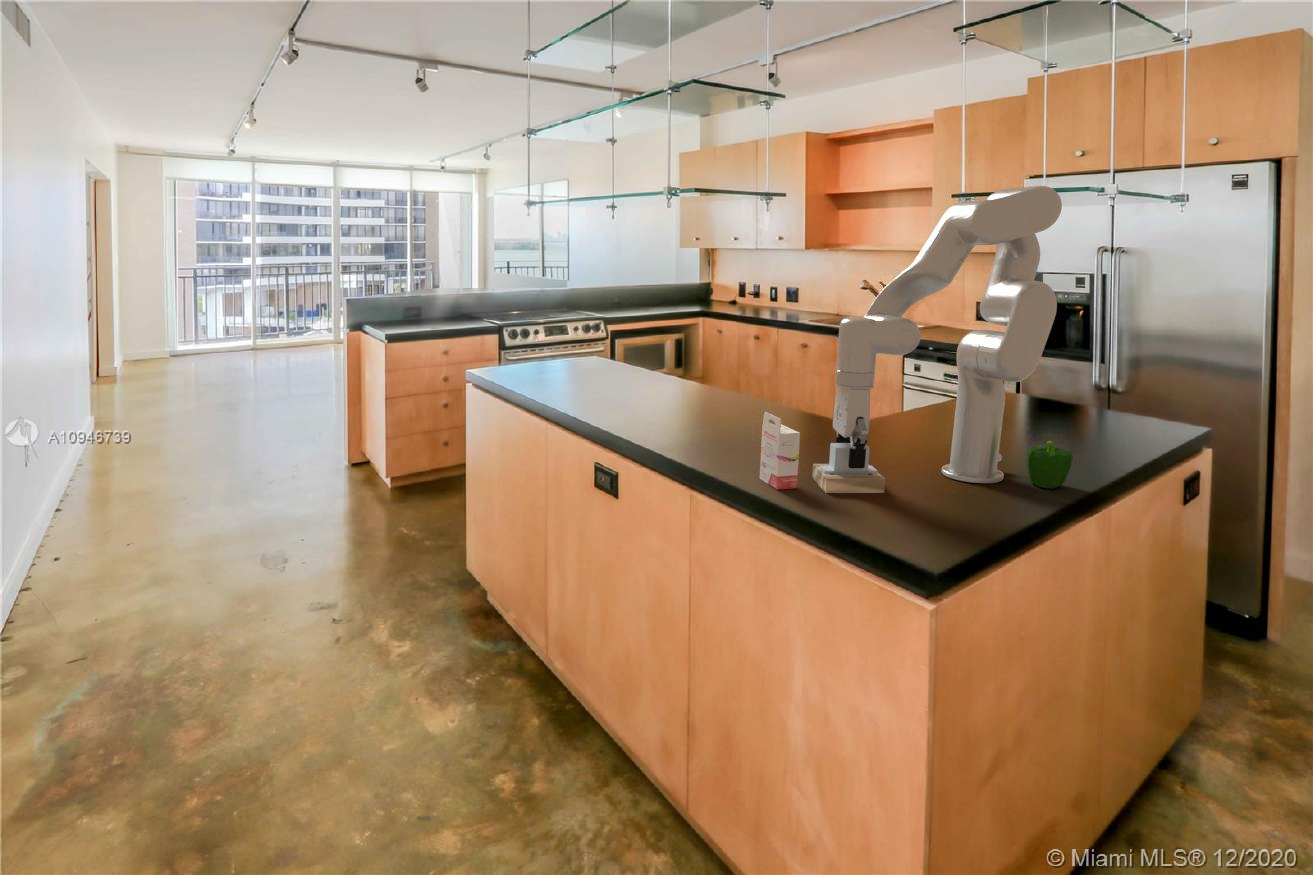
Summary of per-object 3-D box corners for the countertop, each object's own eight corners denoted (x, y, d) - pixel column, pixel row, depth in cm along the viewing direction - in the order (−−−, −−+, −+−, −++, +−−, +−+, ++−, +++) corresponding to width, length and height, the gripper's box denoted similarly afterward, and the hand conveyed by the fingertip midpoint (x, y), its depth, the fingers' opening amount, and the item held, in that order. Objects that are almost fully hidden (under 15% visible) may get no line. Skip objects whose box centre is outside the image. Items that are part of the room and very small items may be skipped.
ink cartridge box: (798, 488, 160) (802, 418, 157) (776, 490, 159) (780, 419, 155) (779, 477, 168) (783, 409, 165) (758, 478, 167) (761, 410, 163)
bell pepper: (1037, 477, 170) (1043, 433, 168) (1075, 487, 164) (1081, 440, 161) (1015, 483, 166) (1020, 437, 164) (1052, 493, 159) (1059, 445, 157)
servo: (818, 482, 165) (821, 438, 163) (870, 482, 166) (873, 438, 163) (823, 487, 161) (826, 443, 159) (876, 487, 162) (879, 443, 159)
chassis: (812, 477, 168) (812, 463, 168) (867, 477, 169) (868, 463, 168) (825, 492, 158) (826, 478, 157) (884, 492, 158) (885, 478, 157)
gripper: (825, 372, 166) (820, 451, 170) (849, 387, 149) (843, 473, 153) (860, 372, 167) (854, 450, 171) (887, 387, 150) (880, 473, 154)
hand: (849, 461), depth 162 cm, fingers open, 9 cm apart
